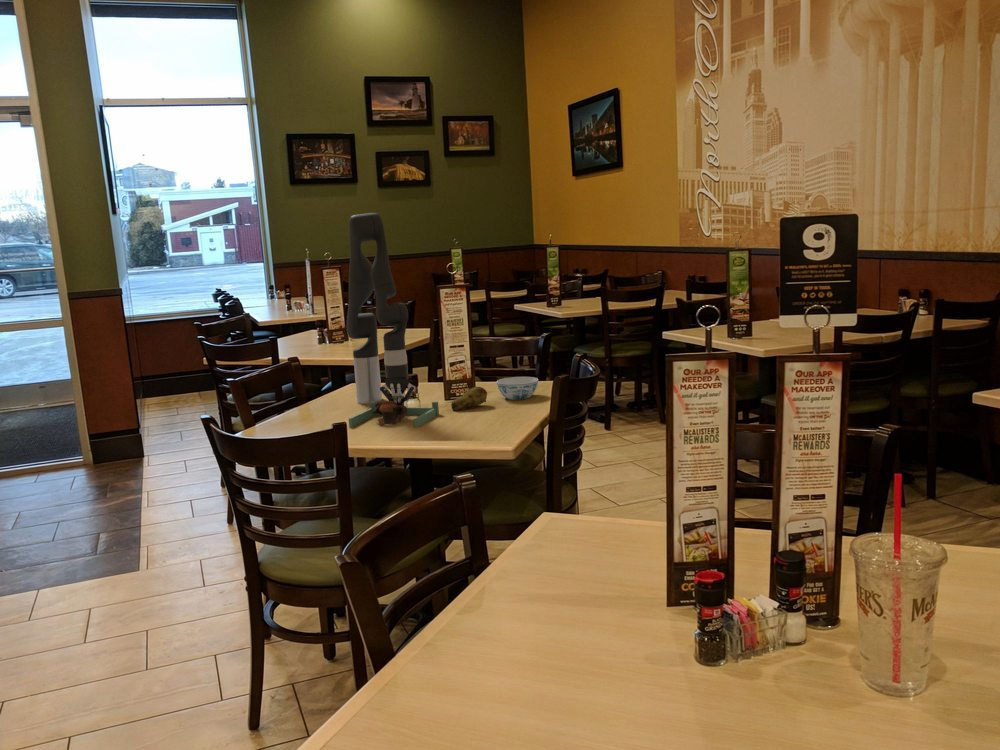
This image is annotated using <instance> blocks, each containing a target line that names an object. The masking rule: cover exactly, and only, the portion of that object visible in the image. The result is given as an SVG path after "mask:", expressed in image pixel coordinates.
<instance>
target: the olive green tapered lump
mask: <svg viewBox="0 0 1000 750" xmlns="http://www.w3.org/2000/svg"><path fill="white" fill-rule="evenodd" d="M487 396H488V392H487V389H486V388H484V387H481V386H473V387H471V388H470V389H468V390H466V392H464V393H463V394H462V395H461V396H459V397H457V398H455V399H454V400H453V401H452V402H451V404H450V407H451V410H453V411H454V412H457V411H458V412H459V411H465V410H471V409H474V408H476V407H478V406H479V405H482V404H483V403H487V398H488V397H487Z"/></svg>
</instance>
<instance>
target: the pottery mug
mask: <svg viewBox="0 0 1000 750" xmlns="http://www.w3.org/2000/svg"><path fill="white" fill-rule="evenodd" d="M406 407H407V406H406V405H405V404H404V405H398V406H397V403H396V402H394V401H389V400H386V401H380V402H376V404H375V409H374V412H373V414H375V413H376V414H379V415H378V416H382V417H380V418H378V419H377V421H378V425H379V426H383V425H384V426H385V425H397V422H401V420H403V418H404V417H405V416H407V415H406V413H407V408H406ZM402 409H403V411H402V413H401V410H402Z"/></svg>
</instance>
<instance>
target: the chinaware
mask: <svg viewBox="0 0 1000 750" xmlns="http://www.w3.org/2000/svg"><path fill="white" fill-rule="evenodd" d="M538 384H539V379H538V377H533V376H513V377H504V378H500V379H497V380H496V386H497V388H498V391H499V392H500V394H501V395H502V396H503V398H505V399H507V400H511V401H519V400H526V399H529V398H531V397H532V396H533V395H534V394H535V392H536V390H537V388H538Z"/></svg>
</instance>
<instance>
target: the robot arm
mask: <svg viewBox="0 0 1000 750" xmlns="http://www.w3.org/2000/svg"><path fill="white" fill-rule="evenodd" d="M348 238H349V239H348V240H349V241H348V242H349V272H348V307H347V316H346V332H347V333H346V334H347V337H348V338H350V339H352V340H359V339H361V340H362V339H367V341H366V342H365V343H363V344H362V345H360V346H357V347H356V348H354V349H353V351H352V357H353V367H354V369H353V370H354V378H355V379H354V380H355V390H356V393H355V394H356V402H357V404H362V405H363V404H364V405H368V404H369V405H370V402H372V401H376V403H379V402H383V396H382V395H384V397H385V398H386V399H387V401H394V402H396V403H397V406H398V405H404V406H405V402H407V401H409V400H410V398H411V397H412V395H413V394H414V393H415V391H416V389H417V386H416V385H413V384H411V382H410V379H409V371H408V370H409V367H408V355H407V351H406V339H405V335H406V330H407V325H408V321H409V310H408V308H407V306H406V305H405V303H403V302H391V303H389V302H387V300H389V299H391V298H393V297H395V296H396V294H397V287H396V283H395V281H394V276H393V274H392V270H391V266H390V265H391V264H390V259H389V258H390V257H389V251H388V245H387V244H388V243H387V238H386V233H385V226H384V223H383V219H382V217H381V215H380V214H379V213H378V212H369V213H368V212H367V213H360V214H354V215H351V216H350V218H349V220H348ZM371 241H372V242H373V241H375V244H376V245H375V246H376V252H375V255H374V256H375V257H374V259H373V263H371V261H370V260H369V259H368V258H367V256H366V255H365V253H364V251H363V250H362V243H365V242H371ZM373 292H374V293H375V294H374V295H375V314H374V313H373V312H365V313H364V312H363V313H360V311H361V309H362V308H363V305H364V304H365V303H366V302H367V301H368V299H369V298H370V297H371V295H372V294H373ZM378 323H379V324H380V325H382V326H390V325H394V326H393V327H392V328H393V329H391V330H390V331H387V332H385V333H384V334H383V349H384V353H383V363H384V373H385V382H384V385H382V382H381V372H380V371H381V370H380V361H379V360H380V359H379V358H380V357H379V345H378ZM406 390H407V392H406ZM402 411H403V409H402V410H401V413H402Z"/></svg>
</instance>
